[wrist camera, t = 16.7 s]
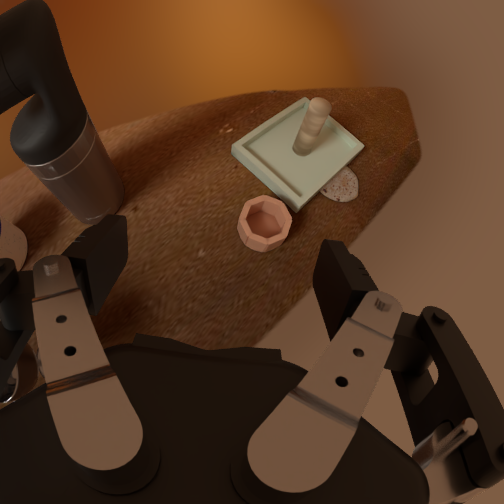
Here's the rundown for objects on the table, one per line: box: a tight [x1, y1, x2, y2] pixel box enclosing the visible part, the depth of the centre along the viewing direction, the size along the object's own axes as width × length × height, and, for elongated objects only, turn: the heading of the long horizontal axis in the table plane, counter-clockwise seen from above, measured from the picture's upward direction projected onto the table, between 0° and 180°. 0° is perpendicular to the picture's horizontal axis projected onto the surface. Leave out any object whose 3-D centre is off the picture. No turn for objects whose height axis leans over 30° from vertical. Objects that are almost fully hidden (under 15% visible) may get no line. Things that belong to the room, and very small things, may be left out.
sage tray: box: [231, 97, 364, 213], centre depth 47 cm, size 18×14×2 cm
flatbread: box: [320, 166, 358, 202], centre depth 47 cm, size 8×8×1 cm
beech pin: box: [292, 97, 332, 156], centre depth 41 cm, size 3×3×11 cm
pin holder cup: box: [237, 195, 292, 252], centre depth 41 cm, size 7×7×4 cm
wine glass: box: [0, 343, 45, 403], centre depth 27 cm, size 8×8×15 cm
